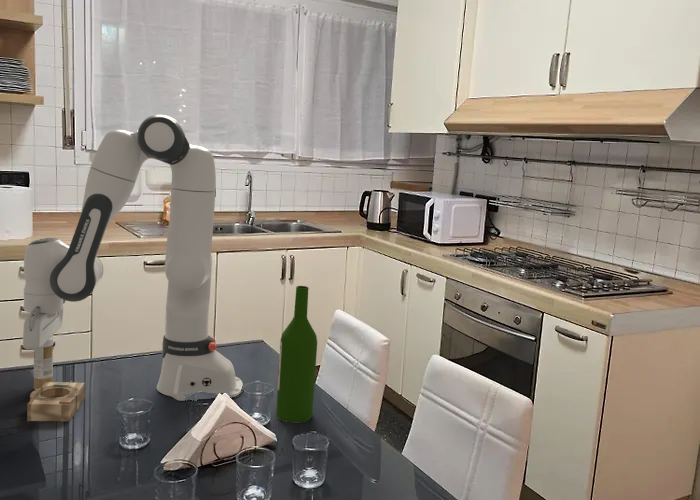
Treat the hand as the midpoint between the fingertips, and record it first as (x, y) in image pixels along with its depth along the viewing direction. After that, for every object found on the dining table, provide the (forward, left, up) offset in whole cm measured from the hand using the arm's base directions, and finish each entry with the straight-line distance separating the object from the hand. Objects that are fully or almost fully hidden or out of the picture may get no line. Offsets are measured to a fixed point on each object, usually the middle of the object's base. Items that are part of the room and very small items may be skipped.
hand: (43, 355), depth 165 cm
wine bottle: (-63, +16, -9) cm, 66 cm away
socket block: (-7, +13, -9) cm, 17 cm away
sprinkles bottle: (0, 0, -9) cm, 9 cm away
